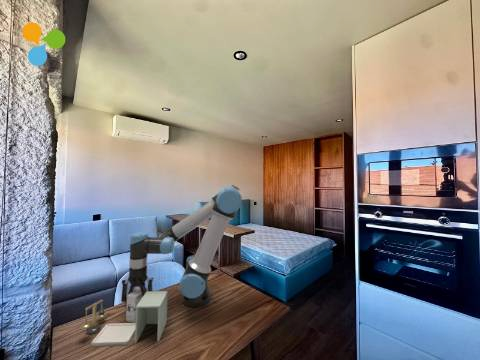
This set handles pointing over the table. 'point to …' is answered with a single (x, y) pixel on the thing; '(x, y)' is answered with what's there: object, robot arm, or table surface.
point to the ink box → (133, 304)
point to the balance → (93, 319)
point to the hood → (151, 312)
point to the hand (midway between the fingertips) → (136, 315)
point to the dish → (115, 335)
